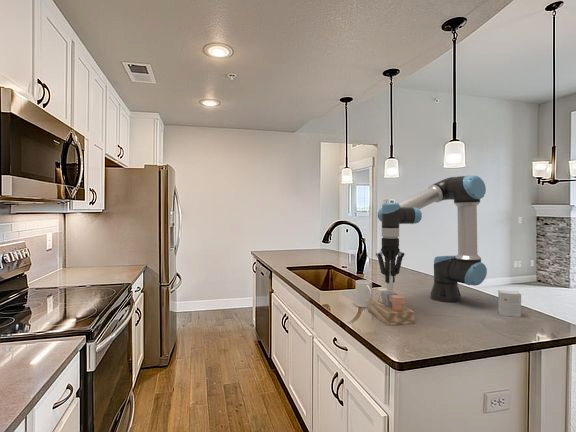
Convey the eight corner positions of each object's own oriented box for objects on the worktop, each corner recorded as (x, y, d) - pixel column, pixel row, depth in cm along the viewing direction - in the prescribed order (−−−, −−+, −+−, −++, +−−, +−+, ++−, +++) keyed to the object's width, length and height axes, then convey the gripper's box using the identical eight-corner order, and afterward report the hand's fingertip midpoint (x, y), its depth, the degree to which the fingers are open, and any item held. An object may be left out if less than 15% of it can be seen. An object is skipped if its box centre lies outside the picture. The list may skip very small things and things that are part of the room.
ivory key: (386, 302, 167) (386, 288, 167) (390, 305, 162) (390, 290, 162) (376, 303, 166) (376, 288, 166) (381, 306, 161) (381, 290, 161)
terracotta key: (399, 310, 154) (399, 294, 154) (405, 313, 149) (405, 297, 149) (389, 311, 153) (389, 295, 153) (394, 314, 148) (394, 298, 148)
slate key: (392, 306, 160) (392, 291, 160) (397, 309, 156) (397, 293, 155) (382, 307, 160) (382, 291, 159) (387, 310, 155) (387, 294, 155)
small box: (517, 313, 162) (517, 291, 162) (521, 317, 157) (521, 294, 156) (497, 312, 165) (498, 289, 164) (500, 315, 159) (501, 292, 159)
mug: (377, 308, 171) (377, 284, 170) (361, 309, 169) (361, 285, 169) (368, 302, 182) (368, 279, 182) (352, 303, 181) (352, 280, 180)
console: (392, 310, 169) (392, 299, 168) (414, 323, 149) (414, 311, 149) (368, 311, 166) (368, 300, 166) (387, 325, 147) (387, 313, 147)
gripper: (399, 236, 162) (399, 287, 162) (373, 236, 159) (372, 288, 160) (408, 237, 154) (407, 291, 155) (380, 238, 152) (379, 292, 152)
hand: (389, 290), depth 157 cm, fingers closed
